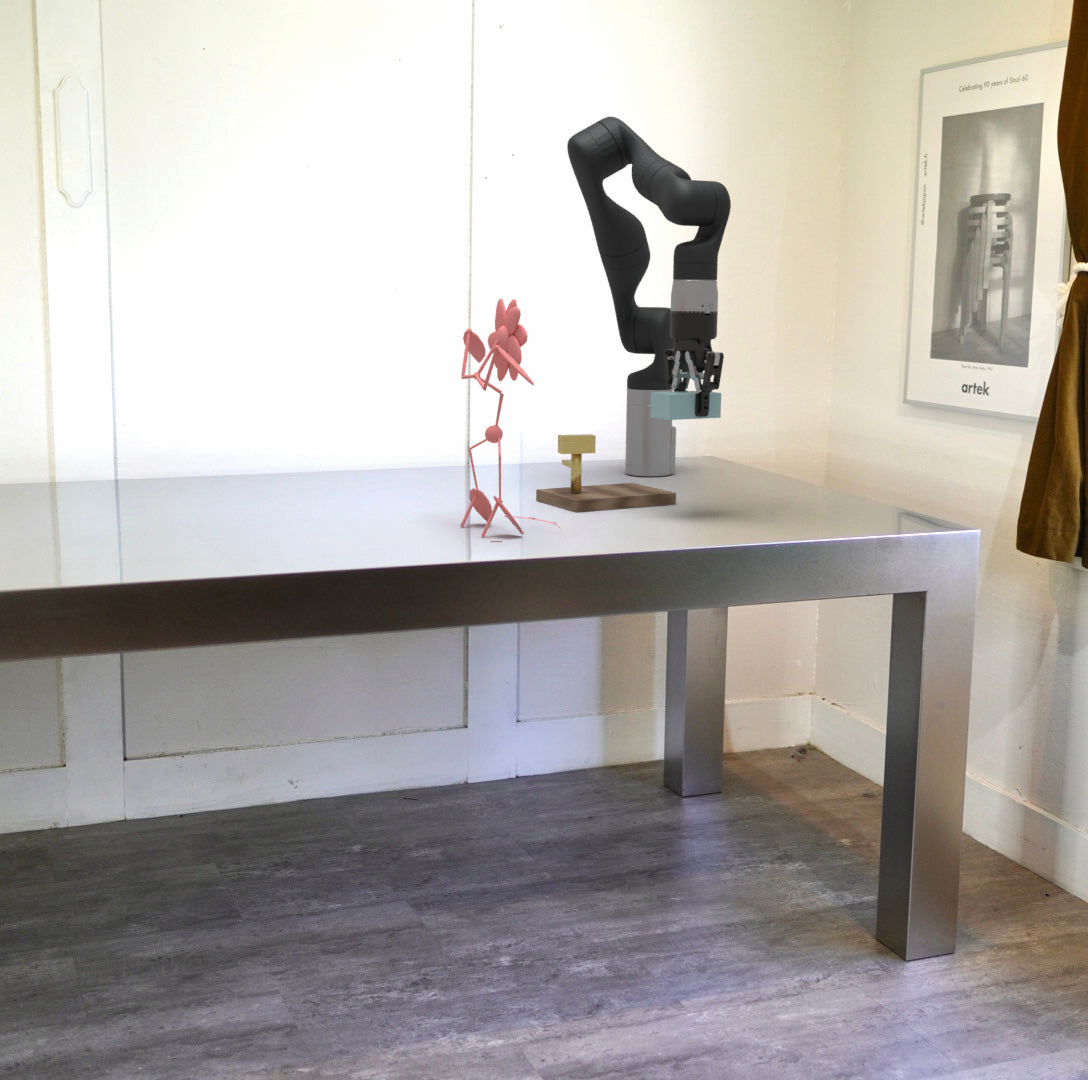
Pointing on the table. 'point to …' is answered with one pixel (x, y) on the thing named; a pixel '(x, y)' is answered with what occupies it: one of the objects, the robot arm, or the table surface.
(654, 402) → the cover
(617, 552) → the table surface
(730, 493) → the table surface
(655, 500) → the base
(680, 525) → the table surface
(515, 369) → the pink stick flower
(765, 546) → the table surface
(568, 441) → the t key
